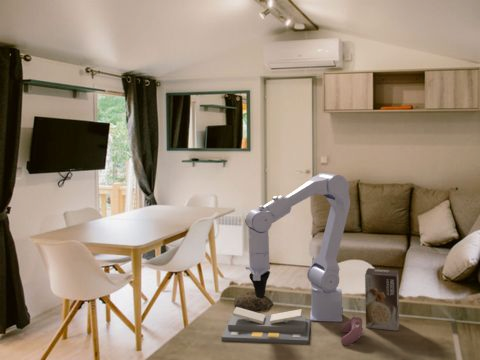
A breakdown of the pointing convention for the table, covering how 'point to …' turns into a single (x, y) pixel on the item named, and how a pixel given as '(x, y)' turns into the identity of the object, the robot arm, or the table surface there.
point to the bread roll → (252, 302)
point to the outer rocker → (249, 315)
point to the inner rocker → (286, 316)
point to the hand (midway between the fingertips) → (260, 297)
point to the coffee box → (382, 299)
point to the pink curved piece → (352, 330)
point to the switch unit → (267, 330)
